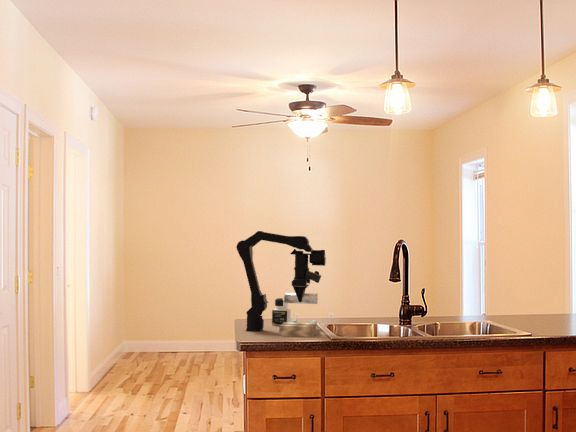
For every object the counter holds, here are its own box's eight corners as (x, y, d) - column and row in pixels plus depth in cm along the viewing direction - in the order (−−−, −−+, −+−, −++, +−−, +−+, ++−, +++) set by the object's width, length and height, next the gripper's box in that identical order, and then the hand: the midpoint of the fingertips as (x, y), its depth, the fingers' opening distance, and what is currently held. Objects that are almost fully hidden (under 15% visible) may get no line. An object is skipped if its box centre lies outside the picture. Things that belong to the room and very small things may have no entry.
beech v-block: (279, 335, 281) (279, 325, 282) (283, 331, 292) (283, 322, 292) (313, 336, 279) (313, 326, 279) (316, 332, 290) (316, 323, 290)
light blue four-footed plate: (285, 331, 293) (285, 322, 293) (289, 328, 304) (289, 319, 304) (315, 332, 291) (315, 323, 291) (318, 329, 302) (318, 320, 302)
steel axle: (284, 303, 292) (284, 293, 292) (285, 302, 296) (285, 292, 296) (316, 304, 290) (316, 294, 290) (317, 303, 294) (317, 293, 294)
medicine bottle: (271, 325, 313) (272, 298, 313) (275, 323, 320) (276, 297, 320) (286, 325, 311) (287, 299, 312) (290, 323, 318) (290, 298, 319)
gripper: (318, 266, 283) (317, 304, 283) (321, 264, 302) (321, 300, 301) (291, 266, 284) (291, 303, 284) (296, 264, 303) (296, 299, 303)
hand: (300, 301), depth 293 cm, fingers closed on steel axle, 4 cm apart
